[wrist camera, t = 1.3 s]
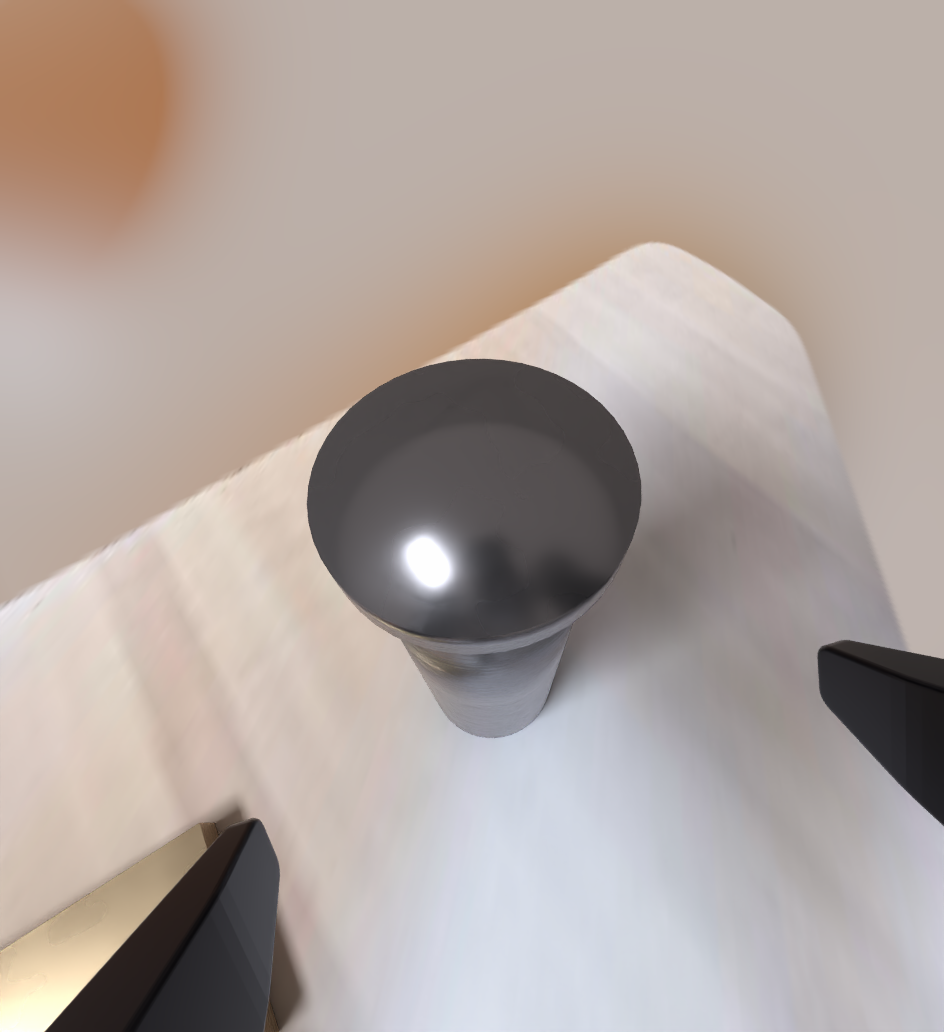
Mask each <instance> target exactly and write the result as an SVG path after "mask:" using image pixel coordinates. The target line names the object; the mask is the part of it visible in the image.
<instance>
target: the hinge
mask: <svg viewBox="0 0 944 1032" xmlns="http://www.w3.org/2000/svg"><path fill="white" fill-rule="evenodd" d="M218 837H219V835H218V832H217V829H216V826H215V823H199V824H197V825H195V826H194V827H192V828H191V829H189V830H188V831H186V832H185V833H183V834H181V835H180V836H178V837H177V838H175V839H174V840H172V841H171V842H169V843H168V844H166V845H164V846H163V847H161V848H160V849H158V850H157V851H155V852H154V853H152V854H150V855H149V856H147V857H146V858H144V859H143V860H141V861H140V862H138V863H137V864H135V865H133V866H132V867H130V868H129V869H127V870H126V871H124V872H123V873H121V874H119V875H118V876H116V877H115V878H113V879H112V880H110V881H109V882H107V883H106V884H104V885H102V886H101V887H99V888H98V889H96V890H95V891H93V892H92V893H90V894H88V895H87V896H85V897H84V898H82V899H81V900H79V901H78V902H76V903H75V904H73V905H71V906H70V907H68V908H67V909H65V910H64V911H62V912H61V913H59V914H57V915H56V916H54V917H53V918H51V919H50V920H48V921H47V922H45V923H44V924H42V925H40V926H39V927H37V928H36V929H34V930H33V931H31V932H30V933H28V934H26V935H25V936H23V937H22V938H20V939H19V940H17V941H16V942H14V943H13V944H11V945H9V946H8V947H6V948H5V949H3V950H2V951H0V1032H44V1031H45V1030H46V1029H47V1028H48V1027H49V1026H50V1025H51V1024H52V1022H53V1021H54V1020H55V1019H56V1018H57V1017H58V1016H59V1015H60V1013H61V1012H62V1011H63V1010H64V1009H65V1008H66V1007H67V1006H68V1005H69V1003H70V1002H71V1001H72V1000H73V999H74V998H75V997H76V996H77V994H78V993H79V992H80V991H81V990H82V989H83V988H84V987H85V986H86V984H87V983H88V982H89V981H90V980H91V979H92V978H93V977H94V975H95V974H96V973H97V972H98V971H99V970H100V969H101V968H102V967H103V965H104V964H105V963H106V962H107V961H108V960H109V959H110V958H111V956H112V955H113V954H114V953H115V952H116V951H117V950H118V949H119V947H120V946H121V945H122V944H123V943H124V942H125V941H126V940H127V939H128V937H129V936H130V935H131V934H132V933H133V932H134V931H135V930H136V928H137V927H138V926H139V925H140V924H141V923H142V922H143V921H144V920H145V918H146V917H147V916H148V915H149V914H150V913H151V912H152V911H153V909H154V908H155V907H156V906H157V905H158V904H159V903H160V902H161V900H162V899H163V898H164V897H165V896H166V895H167V894H168V893H169V892H170V890H171V889H172V888H173V887H174V886H175V885H176V884H177V883H178V881H179V880H180V879H181V878H182V877H183V876H184V875H185V874H186V873H187V871H188V870H189V869H190V868H191V867H192V866H193V865H194V864H195V862H196V861H197V860H198V859H199V858H200V857H201V856H202V855H203V853H204V852H205V851H206V850H207V849H208V848H209V847H210V846H211V845H212V843H213V842H214V841H215V840H216V839H217V838H218ZM264 1032H279V1029H278V1025H277V1022H276V1019H275V1016H274V1013H273V1009H272V1006H271V1003H270V1000H269V1002H268V1009H267V1015H266V1022H265V1028H264Z"/></svg>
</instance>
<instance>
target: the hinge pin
mask: <svg viewBox="0 0 944 1032" xmlns="http://www.w3.org/2000/svg"><path fill="white" fill-rule="evenodd" d="M640 506H641V480H640V474H639V468H638V463H637V461H636V458H635V455H634V452H633V449H632V446H631V444H630V442H629V441H628V439H627V437H626V435H625V433H624V431H623V430H622V428H621V427H620V425H619V424H618V423H617V421H616V420H615V418H614V417H613V416H612V415H611V414H610V413H609V412H608V410H607V409H606V408H605V407H604V406H603V405H602V404H601V403H600V402H598V401H597V400H596V399H595V398H594V397H592V396H591V395H590V394H589V393H588V392H586V391H585V390H583V389H582V388H580V387H579V386H577V385H575V384H574V383H572V382H570V381H568V380H566V379H564V378H562V377H560V376H558V375H556V374H554V373H551V372H549V371H546V370H543V369H541V368H538V367H534V366H530V365H526V364H523V363H517V362H511V361H505V360H493V359H465V360H456V361H448V362H443V363H438V364H434V365H429V366H426V367H423V368H420V369H416V370H413V371H410V372H408V373H406V374H403V375H401V376H399V377H396V378H394V379H392V380H390V381H389V382H387V383H385V384H383V385H381V386H379V387H378V388H376V389H375V390H373V391H372V392H370V393H369V394H368V395H366V396H365V397H363V398H362V399H361V400H360V401H359V402H357V403H356V404H355V405H354V406H353V407H352V408H350V409H349V410H348V411H347V413H346V414H345V415H344V416H343V417H342V418H341V419H340V420H339V421H338V422H337V424H336V425H335V426H334V428H333V429H332V431H331V432H330V433H329V435H328V436H327V438H326V439H325V441H324V443H323V445H322V447H321V449H320V450H319V452H318V455H317V458H316V460H315V463H314V465H313V468H312V472H311V476H310V481H309V485H308V497H307V510H308V521H309V526H310V530H311V534H312V538H313V542H314V544H315V546H316V548H317V551H318V553H319V555H320V558H321V560H322V561H323V563H324V564H325V566H326V567H327V569H328V571H329V572H330V574H331V575H332V577H333V578H334V579H335V581H336V582H337V584H338V585H339V586H340V588H341V589H342V591H343V592H344V593H345V595H346V596H347V597H348V599H349V600H350V601H351V602H352V603H353V604H354V605H355V607H356V608H357V609H358V610H359V611H360V612H361V613H362V614H363V615H365V616H366V617H367V618H368V619H369V620H371V621H372V622H373V623H374V624H375V625H377V626H379V627H380V628H382V629H383V630H385V631H387V632H388V633H390V634H392V635H393V636H395V637H397V638H400V639H401V641H402V642H403V644H404V646H405V647H406V649H407V651H408V653H409V654H410V656H411V658H412V659H413V661H414V663H415V665H416V666H417V668H418V670H419V671H420V673H421V675H422V677H423V678H424V680H425V682H426V683H427V685H428V687H429V689H430V690H431V692H432V694H433V695H434V697H435V699H436V701H437V702H438V704H439V706H440V707H441V709H442V710H443V712H444V713H445V715H446V716H447V717H448V718H449V719H450V721H451V722H453V723H454V724H455V725H456V726H457V727H459V728H460V729H462V730H463V731H466V732H468V733H470V734H472V735H476V736H479V737H485V738H498V737H505V736H508V735H512V734H514V733H516V732H518V731H520V730H522V729H523V728H525V727H526V726H528V725H529V724H530V723H531V722H532V721H533V720H534V719H535V718H536V717H537V716H538V714H539V713H540V711H541V710H542V708H543V706H544V704H545V702H546V699H547V696H548V693H549V691H550V688H551V685H552V682H553V679H554V676H555V673H556V670H557V667H558V665H559V662H560V659H561V656H562V653H563V650H564V647H565V644H566V642H567V639H568V636H569V633H570V630H571V627H572V624H573V622H574V621H576V620H577V619H578V618H579V617H581V616H582V615H583V614H585V613H586V612H587V611H588V610H589V609H590V608H591V607H592V606H593V605H594V604H595V603H596V602H597V600H598V599H599V598H600V597H601V596H602V595H603V593H604V592H605V590H606V589H607V588H608V586H609V585H610V583H611V582H612V581H613V579H614V577H615V575H616V573H617V571H618V569H619V567H620V565H621V563H622V561H623V558H624V556H625V554H626V552H627V550H628V547H629V545H630V543H631V541H632V538H633V535H634V532H635V529H636V526H637V523H638V519H639V513H640Z"/></svg>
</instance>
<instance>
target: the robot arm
mask: <svg viewBox="0 0 944 1032" xmlns="http://www.w3.org/2000/svg"><path fill="white" fill-rule="evenodd" d="M818 674H819V689H820V694H821V697H822V699H823V701H824V702H825V704H826V705H827V706H828V708H829V709H830V710H831V711H832V712H833V713H834V714H835V715H836V716H837V717H838V719H839V720H840V721H841V722H842V723H843V724H844V725H845V726H846V727H847V728H848V729H849V730H850V731H851V733H852V734H853V735H854V736H855V737H856V738H857V739H858V740H859V741H860V742H861V743H862V744H863V746H864V747H865V748H866V749H867V750H868V751H869V752H870V753H871V754H872V755H873V756H874V757H875V759H876V760H877V761H878V762H879V763H880V764H881V765H882V766H883V767H884V768H885V769H886V770H887V771H888V773H889V774H890V775H891V776H892V777H893V778H894V779H895V780H896V781H897V782H898V783H899V784H900V785H901V786H902V787H903V788H904V789H905V790H906V791H907V792H908V793H909V794H910V795H911V796H912V797H913V798H914V799H915V800H916V801H917V802H918V803H919V804H920V805H921V806H922V807H924V808H925V809H926V810H927V811H928V812H929V813H930V814H931V815H932V816H933V817H934V818H936V819H937V820H938V821H939V822H940V823H941V824H942V825H943V826H944V659H940V658H936V657H931V656H925V655H921V654H916V653H910V652H905V651H900V650H895V649H890V648H885V647H880V646H875V645H870V644H865V643H860V642H855V641H850V640H841V641H838V642H834V643H831V644H828V645H824V646H822V647H821V648H820V649H819V651H818ZM279 881H280V869H279V863H278V859H277V856H276V854H275V852H274V849H273V847H272V844H271V842H270V840H269V837H268V835H267V833H266V830H265V828H264V825H263V824H262V822H261V821H260V820H259V819H257V818H251V819H248V820H245V821H241V822H238V823H235V824H232V825H230V826H228V827H227V828H226V829H225V830H224V831H223V832H222V833H221V834H220V836H219V837H218V838H217V839H216V840H215V841H214V842H213V843H212V845H211V846H210V847H209V848H208V849H207V850H206V851H205V852H204V853H203V855H202V856H201V857H200V858H199V859H198V860H197V861H196V862H195V864H194V865H193V866H192V867H191V868H190V869H189V870H188V871H187V873H186V874H185V875H184V876H183V877H182V878H181V879H180V880H179V881H178V883H177V884H176V885H175V886H174V887H173V888H172V889H171V890H170V892H169V893H168V894H167V895H166V896H165V897H164V898H163V899H162V900H161V902H160V903H159V904H158V905H157V906H156V907H155V908H154V909H153V911H152V912H151V913H150V914H149V915H148V916H147V917H146V918H145V920H144V921H143V922H142V923H141V924H140V925H139V926H138V927H137V928H136V930H135V931H134V932H133V933H132V934H131V935H130V936H129V937H128V939H127V940H126V941H125V942H124V943H123V944H122V945H121V946H120V947H119V949H118V950H117V951H116V952H115V953H114V954H113V955H112V956H111V958H110V959H109V960H108V961H107V962H106V963H105V964H104V965H103V967H102V968H101V969H100V970H99V971H98V972H97V973H96V974H95V975H94V977H93V978H92V979H91V980H90V981H89V982H88V983H87V984H86V986H85V987H84V988H83V989H82V990H81V991H80V992H79V993H78V994H77V996H76V997H75V998H74V999H73V1000H72V1001H71V1002H70V1003H69V1005H68V1006H67V1007H66V1008H65V1009H64V1010H63V1011H62V1012H61V1013H60V1015H59V1016H58V1017H57V1018H56V1019H55V1020H54V1021H53V1022H52V1024H51V1025H50V1026H49V1027H48V1028H47V1029H46V1030H45V1031H44V1032H264V1028H265V1022H266V1015H267V1009H268V1002H269V993H270V984H271V973H272V962H273V950H274V939H275V927H276V915H277V904H278V892H279Z"/></svg>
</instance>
